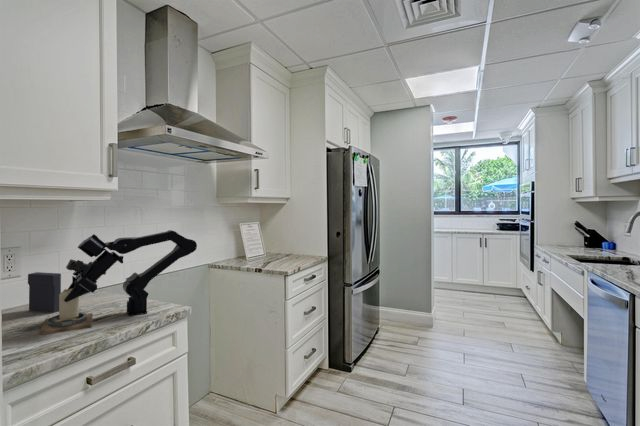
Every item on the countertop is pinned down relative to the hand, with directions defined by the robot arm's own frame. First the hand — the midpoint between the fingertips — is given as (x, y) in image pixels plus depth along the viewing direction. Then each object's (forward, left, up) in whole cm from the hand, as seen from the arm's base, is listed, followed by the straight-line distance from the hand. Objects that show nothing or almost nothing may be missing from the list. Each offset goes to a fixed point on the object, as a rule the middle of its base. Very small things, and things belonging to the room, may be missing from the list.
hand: (64, 299), depth 117 cm
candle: (-1, 0, -7) cm, 7 cm away
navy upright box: (+8, -22, -9) cm, 25 cm away
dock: (-1, 0, -9) cm, 9 cm away
